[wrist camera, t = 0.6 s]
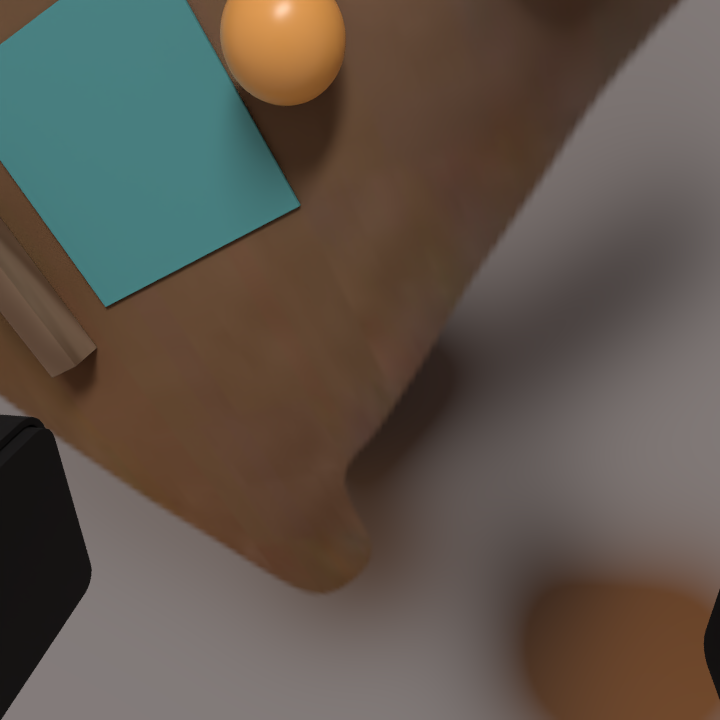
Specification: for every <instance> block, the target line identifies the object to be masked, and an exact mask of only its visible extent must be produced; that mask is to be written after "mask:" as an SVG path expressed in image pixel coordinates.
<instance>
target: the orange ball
mask: <svg viewBox="0 0 720 720" xmlns="http://www.w3.org/2000/svg"><path fill="white" fill-rule="evenodd" d="M220 40H221V47H222V52H223V55H224V58H225V61H226V63H227V66H228V68H229V70H230V72H231V73H232V75H233V76H234V78H235V79H236V80H237V82H238V83H239V84H240V85H241V86H242V87H243V88H244V89H245V90H246V91H247V92H249V93H250V94H251V95H253V96H254V97H256V98H258V99H260V100H262V101H264V102H267V103H270V104H274V105H280V106H292V105H298V104H302V103H305V102H308V101H310V100H312V99H314V98H316V97H317V96H319V95H320V94H321V93H322V92H324V91H325V90H326V89H327V88H328V87H329V85H330V84H331V83H332V82H333V80H334V79H335V77H336V76H337V74H338V72H339V70H340V68H341V65H342V62H343V59H344V53H345V45H346V34H345V26H344V21H343V18H342V14H341V12H340V9H339V7H338V5H337V3H336V1H335V0H227V2H226V5H225V8H224V10H223V14H222V18H221V26H220Z"/></svg>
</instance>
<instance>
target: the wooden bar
mask: <svg viewBox="0 0 720 720" xmlns="http://www.w3.org/2000/svg"><path fill="white" fill-rule="evenodd" d="M0 312H1V313H2V315H3V316H4V317H5V318H6V320H7V321H8V322H9V324H10V325H11V326H12V327H13V329H14V330H15V331H16V332H17V334H18V335H19V336H20V338H21V339H22V340H23V341H24V343H25V344H26V345H27V346H28V348H29V349H30V350H31V352H32V353H33V354H34V355H35V357H36V358H37V359H38V360H39V362H40V363H41V364H42V365H43V367H44V368H45V369H46V371H47V372H48V373H49V374H50V376H51V377H52V378H53V377H55V376H57V375H59V374H61V373H63V372H65V371H67V370H69V369H71V368H73V367H75V366H77V365H78V364H79V363H80V362H81V361H82V360H84V359H85V358H86V357H87V356H88V355H89V354H90V353H91V352H93V351H94V350H95V349H96V348H97V347H96V346H95V344H94V343H93V342H92V340H91V339H90V338H89V336H88V335H87V334H86V332H85V331H84V330H83V328H82V327H81V325H80V324H79V323H78V321H77V320H76V319H75V317H74V316H73V315H72V313H71V312H70V311H69V309H68V308H67V307H66V305H65V304H64V303H63V301H62V300H61V299H60V297H59V296H58V294H57V293H56V292H55V290H54V289H53V288H52V286H51V285H50V284H49V282H48V281H47V280H46V278H45V277H44V276H43V274H42V273H41V272H40V270H39V269H38V268H37V266H36V265H35V264H34V262H33V261H32V259H31V258H30V257H29V255H28V254H27V253H26V251H25V250H24V249H23V247H22V246H21V245H20V243H19V242H18V241H17V239H16V238H15V237H14V235H13V234H12V233H11V231H10V230H9V228H8V227H7V226H6V224H5V223H4V222H3V220H2V219H1V218H0Z"/></svg>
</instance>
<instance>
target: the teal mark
mask: <svg viewBox="0 0 720 720" xmlns="http://www.w3.org/2000/svg"><path fill="white" fill-rule="evenodd" d="M0 161H1V162H2V163H3V165H4V166H5V168H6V169H7V170H8V172H9V173H10V174H11V176H12V177H13V179H14V180H15V181H16V183H17V184H18V186H19V187H20V188H21V190H22V191H23V193H24V194H25V195H26V197H27V198H28V200H29V201H30V202H31V204H32V205H33V207H34V208H35V209H36V211H37V212H38V213H39V215H40V216H41V218H42V219H43V220H44V222H45V223H46V225H47V226H48V227H49V229H50V230H51V232H52V233H53V234H54V236H55V237H56V239H57V240H58V241H59V243H60V244H61V246H62V247H63V248H64V250H65V251H66V253H67V254H68V255H69V257H70V258H71V259H72V261H73V262H74V264H75V265H76V266H77V268H78V269H79V271H80V272H81V273H82V275H83V276H84V278H85V279H86V280H87V282H88V283H89V285H90V286H91V287H92V289H93V290H94V292H95V293H96V294H97V296H98V297H99V298H100V300H101V301H102V303H103V304H104V305H105V307H107V306H109V305H110V304H112V303H114V302H116V301H118V300H120V299H122V298H124V297H126V296H128V295H130V294H132V293H133V292H135V291H137V290H139V289H141V288H143V287H145V286H147V285H149V284H151V283H153V282H155V281H157V280H158V279H160V278H162V277H164V276H166V275H168V274H170V273H172V272H174V271H176V270H178V269H180V268H182V267H183V266H185V265H187V264H189V263H191V262H193V261H195V260H197V259H199V258H201V257H203V256H205V255H207V254H208V253H210V252H212V251H214V250H216V249H218V248H220V247H222V246H224V245H226V244H228V243H230V242H232V241H233V240H235V239H237V238H239V237H241V236H243V235H245V234H247V233H249V232H251V231H253V230H255V229H256V228H258V227H260V226H262V225H264V224H266V223H268V222H270V221H272V220H274V219H276V218H278V217H280V216H281V215H283V214H285V213H287V212H289V211H291V210H293V209H295V208H297V207H299V206H300V203H299V201H298V199H297V197H296V196H295V194H294V192H293V190H292V188H291V187H290V185H289V183H288V181H287V180H286V178H285V176H284V174H283V172H282V171H281V169H280V167H279V165H278V163H277V162H276V160H275V158H274V156H273V154H272V153H271V151H270V149H269V147H268V145H267V144H266V142H265V140H264V138H263V137H262V135H261V133H260V131H259V129H258V128H257V126H256V124H255V122H254V120H253V119H252V117H251V115H250V113H249V111H248V110H247V108H246V106H245V104H244V102H243V101H242V99H241V97H240V95H239V93H238V92H237V90H236V88H235V86H234V85H233V83H232V81H231V79H230V77H229V76H228V74H227V72H226V70H225V68H224V67H223V65H222V63H221V61H220V59H219V58H218V56H217V54H216V52H215V50H214V49H213V47H212V45H211V43H210V42H209V40H208V38H207V36H206V34H205V33H204V31H203V29H202V27H201V25H200V24H199V22H198V20H197V18H196V16H195V15H194V13H193V11H192V9H191V7H190V6H189V4H188V2H187V0H59V1H57V2H56V3H55V4H53V5H52V6H51V7H49V8H48V9H47V10H46V11H44V12H43V13H42V14H40V15H39V16H38V17H36V18H35V19H34V20H32V21H31V22H30V23H28V24H27V25H26V26H24V27H23V28H22V29H20V30H19V31H18V32H16V33H15V34H14V35H13V36H11V37H10V38H9V39H7V40H6V41H5V42H3V43H2V44H1V45H0Z"/></svg>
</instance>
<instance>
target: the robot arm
mask: <svg viewBox="0 0 720 720" xmlns="http://www.w3.org/2000/svg"><path fill="white" fill-rule="evenodd" d="M91 571H92V569H91V563H90V560H89V556H88V553H87V550H86V546H85V542H84V539H83V535H82V532H81V528H80V525H79V521H78V518H77V515H76V511H75V508H74V504H73V501H72V497H71V493H70V490H69V486H68V483H67V479H66V476H65V472H64V469H63V465H62V462H61V458H60V455H59V451H58V448H57V444H56V441H55V438H54V435H53V433H52V432H51V431H50V430H49V429H46V428H45V427H44V425H43V423H42V422H41V421H40V420H39V419H37V418H34V417H25V416H11V415H0V720H1V719H2V717H3V716H4V714H5V713H6V711H7V710H8V708H9V707H10V705H11V704H12V702H13V701H14V699H15V698H16V696H17V695H18V693H19V692H20V690H21V689H22V687H23V686H24V684H25V682H26V681H27V680H28V678H29V677H30V675H31V674H32V672H33V671H34V669H35V668H36V666H37V665H38V663H39V662H40V660H41V659H42V657H43V656H44V654H45V653H46V651H47V650H48V648H49V647H50V645H51V643H52V642H53V641H54V639H55V638H56V636H57V635H58V633H59V632H60V630H61V629H62V627H63V626H64V624H65V622H66V621H67V619H68V618H69V617H70V615H71V614H72V612H73V610H74V609H75V608H76V606H77V605H78V603H79V601H80V600H81V598H82V597H83V595H84V594H85V592H86V590H87V589H88V586H89V583H90V579H91ZM704 652H705V658H706V662H707V665H708V668H709V671H710V674H711V676H712V679H713V682H714V685H715V688H716V690H717V693H718V696H719V699H720V590H719V593H718V596H717V599H716V602H715V605H714V608H713V611H712V614H711V617H710V619H709V623H708V625H707V628H706V632H705V636H704Z"/></svg>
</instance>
